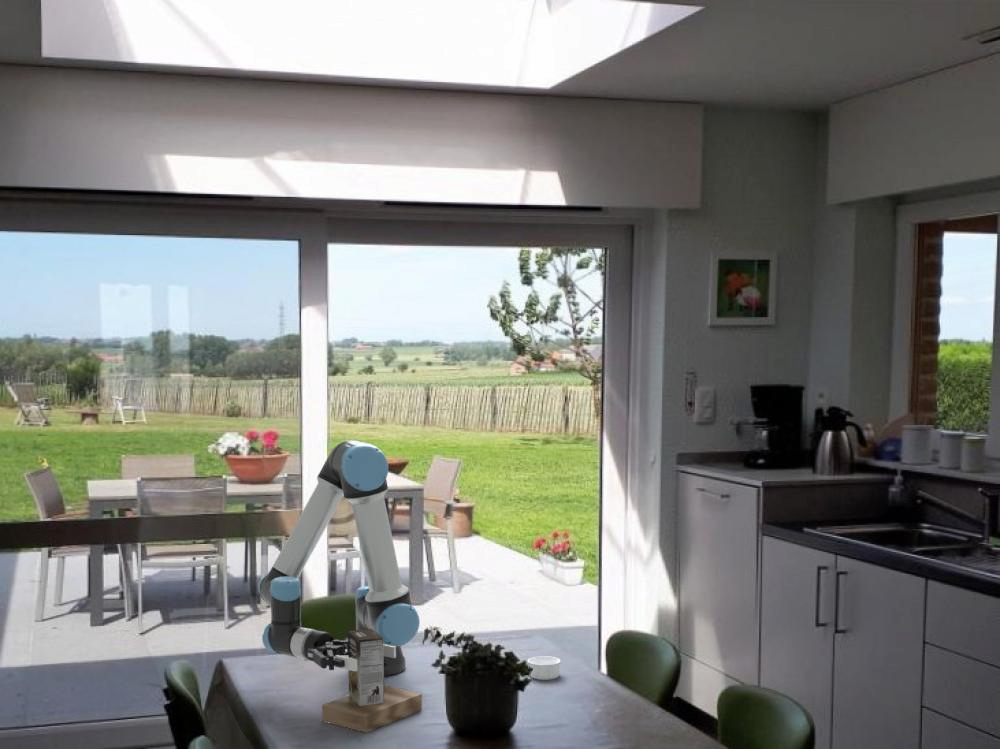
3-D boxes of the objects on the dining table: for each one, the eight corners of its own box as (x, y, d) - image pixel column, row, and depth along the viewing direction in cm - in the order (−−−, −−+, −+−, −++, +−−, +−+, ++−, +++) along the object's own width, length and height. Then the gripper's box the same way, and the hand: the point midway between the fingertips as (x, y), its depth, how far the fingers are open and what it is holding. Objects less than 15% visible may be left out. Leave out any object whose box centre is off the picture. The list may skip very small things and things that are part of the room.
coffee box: (347, 696, 291) (346, 630, 290) (373, 692, 294) (372, 627, 293) (359, 707, 283) (358, 639, 282) (384, 703, 285) (384, 636, 285)
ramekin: (526, 671, 325) (526, 656, 324) (559, 671, 325) (559, 655, 325) (528, 681, 316) (528, 665, 316) (562, 680, 316) (562, 664, 316)
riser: (379, 699, 301) (379, 684, 301) (421, 710, 292) (421, 694, 292) (322, 721, 285) (322, 704, 285) (365, 732, 277) (365, 715, 276)
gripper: (348, 649, 309) (410, 662, 296) (276, 671, 289) (339, 687, 276) (348, 620, 309) (410, 632, 296) (275, 641, 289) (338, 655, 276)
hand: (376, 658), depth 286 cm, fingers open, 13 cm apart
